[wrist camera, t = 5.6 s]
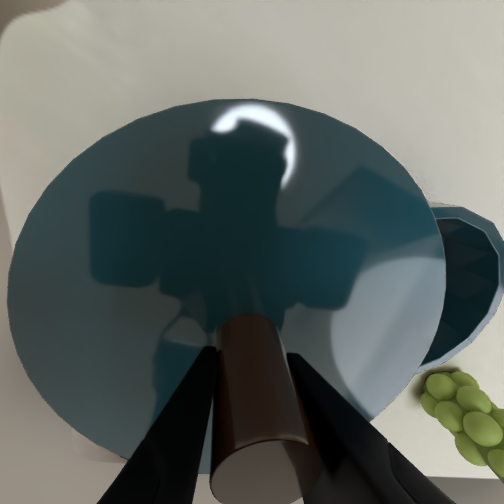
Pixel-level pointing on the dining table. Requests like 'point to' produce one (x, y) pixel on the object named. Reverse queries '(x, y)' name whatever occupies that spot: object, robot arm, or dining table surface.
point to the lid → (227, 283)
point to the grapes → (467, 418)
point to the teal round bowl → (466, 280)
